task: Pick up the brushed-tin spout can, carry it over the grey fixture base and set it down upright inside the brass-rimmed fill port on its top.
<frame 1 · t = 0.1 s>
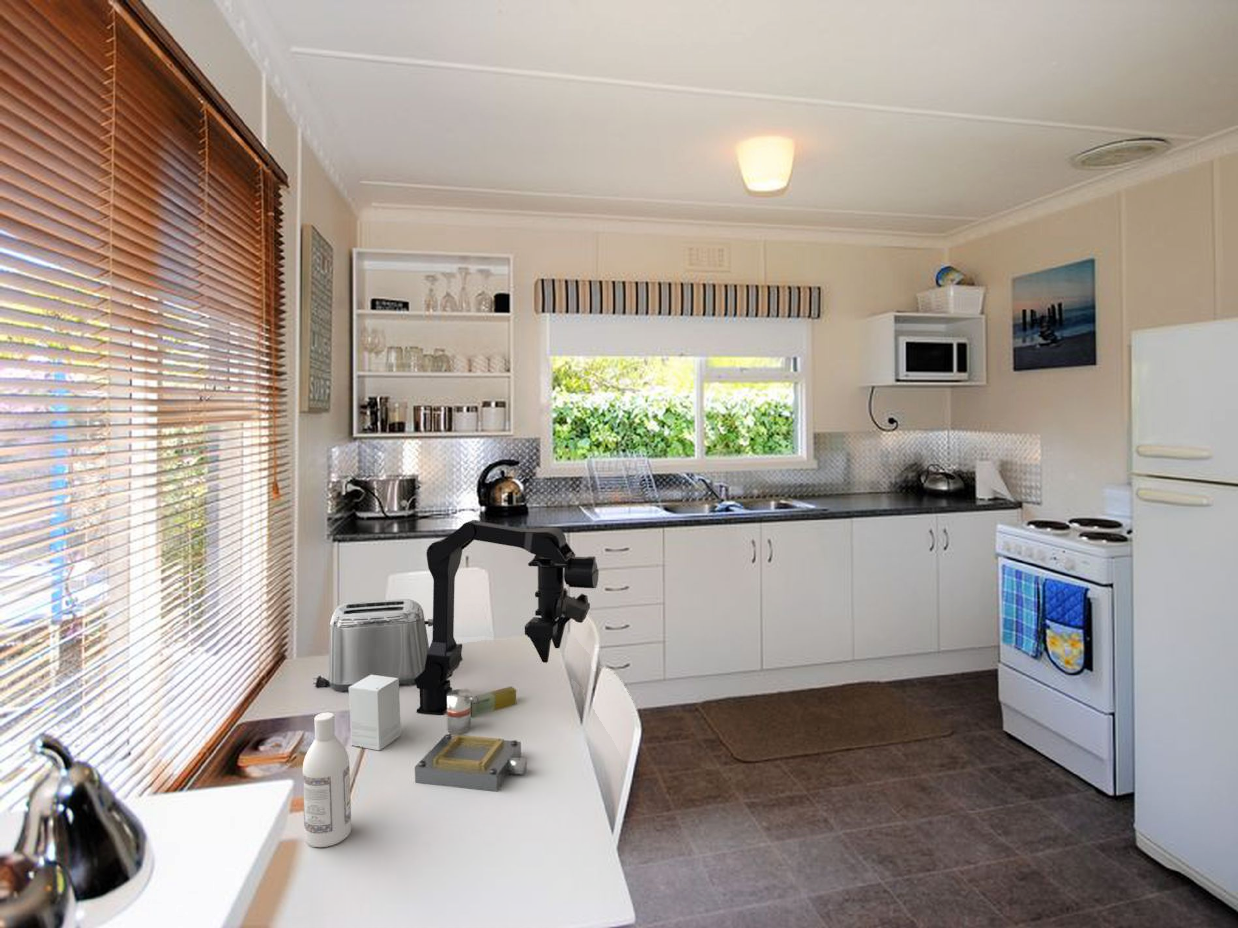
hand: (551, 654, 152), 15 cm above the table, fingers open, 9 cm apart
toaster: (376, 679, 177), on the table
spout can: (459, 729, 148), on the table
supplement box: (376, 741, 143), on the table
grey fixture base: (470, 768, 132), on the table
medication box: (491, 710, 158), on the table
bath foam: (328, 836, 111), on the table
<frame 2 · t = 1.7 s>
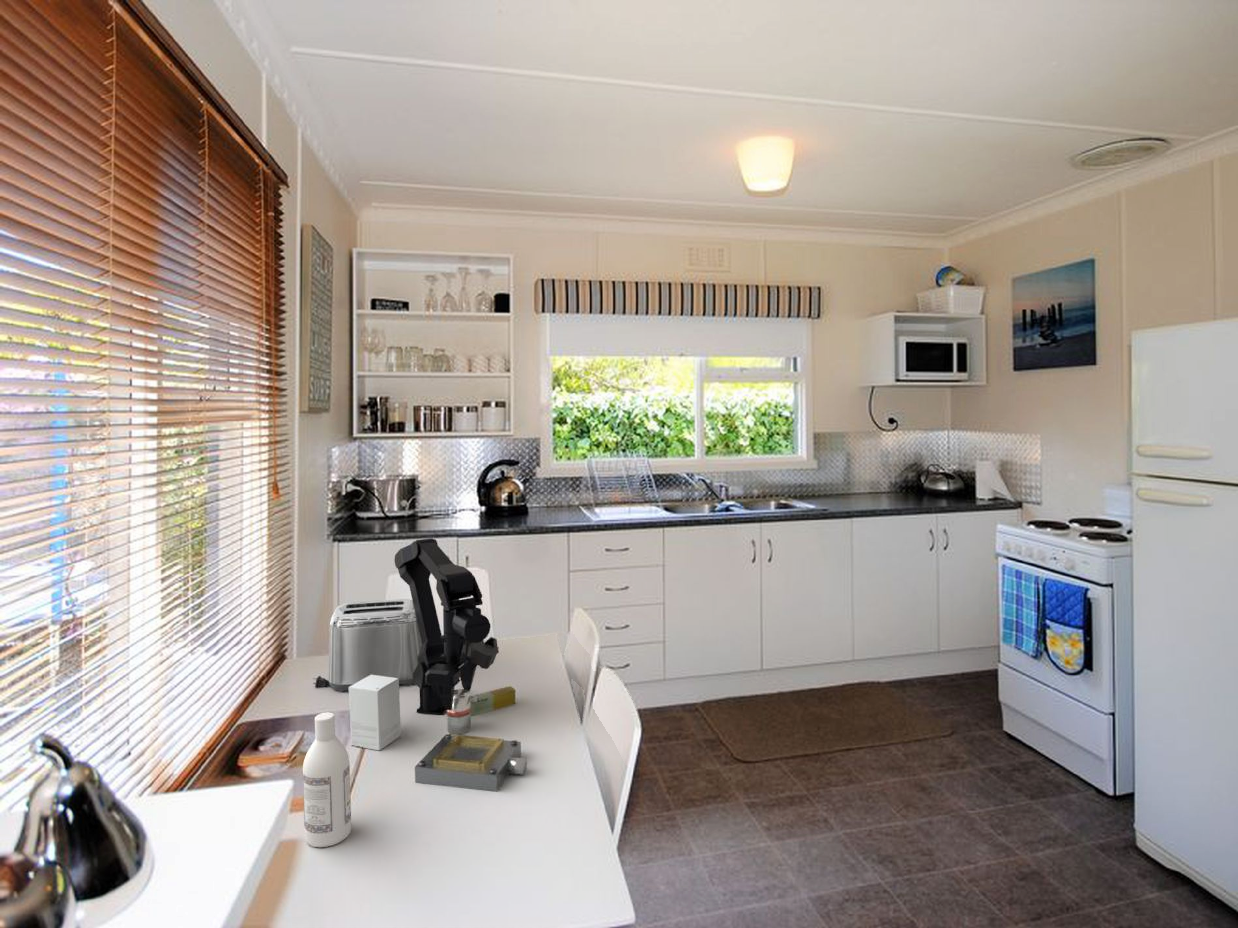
hand: (458, 700, 148), 6 cm above the table, fingers open, 9 cm apart
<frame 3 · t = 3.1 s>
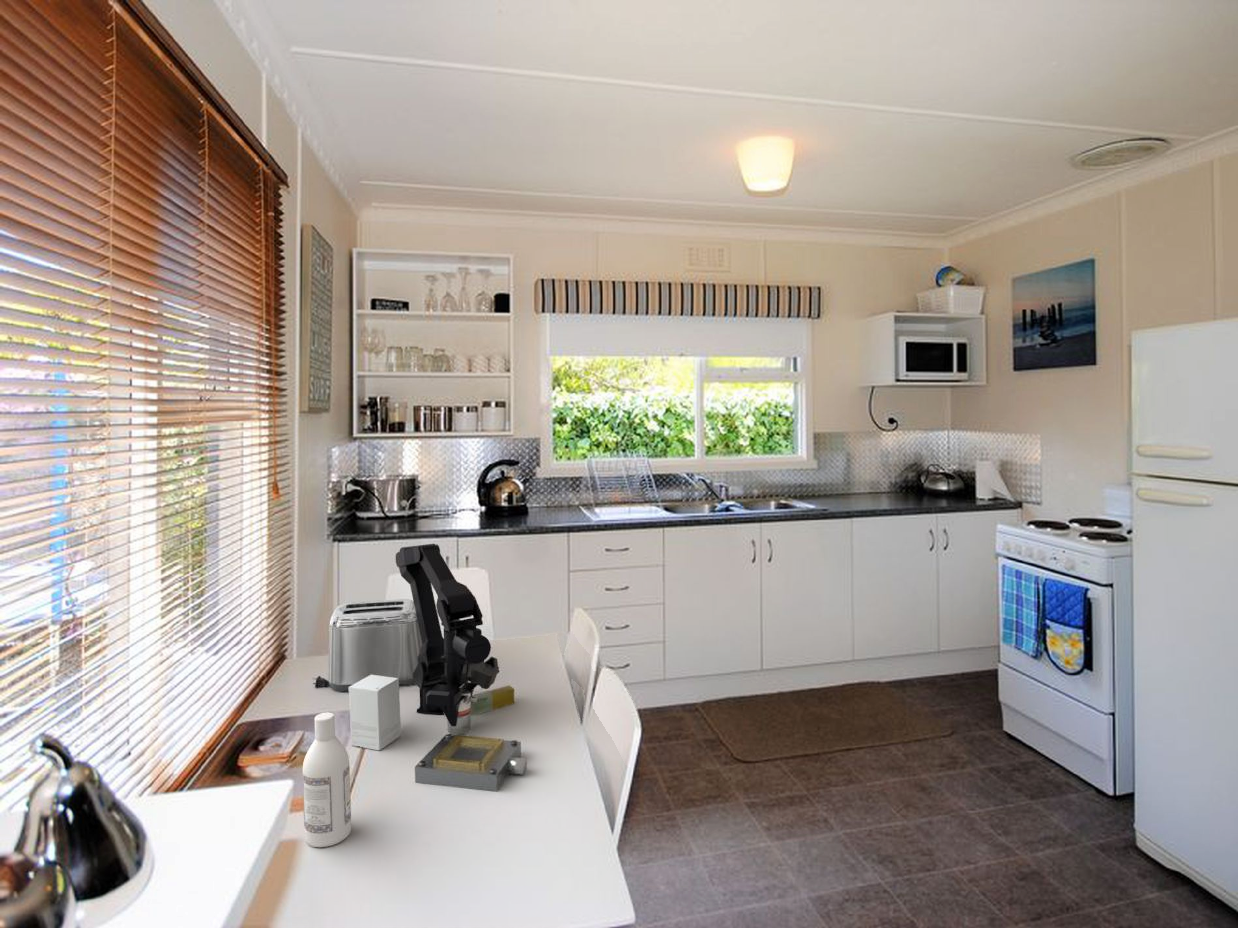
hand: (459, 720, 148), 2 cm above the table, fingers closed on spout can, 5 cm apart
spout can: (459, 729, 148), on the table, touching gripper
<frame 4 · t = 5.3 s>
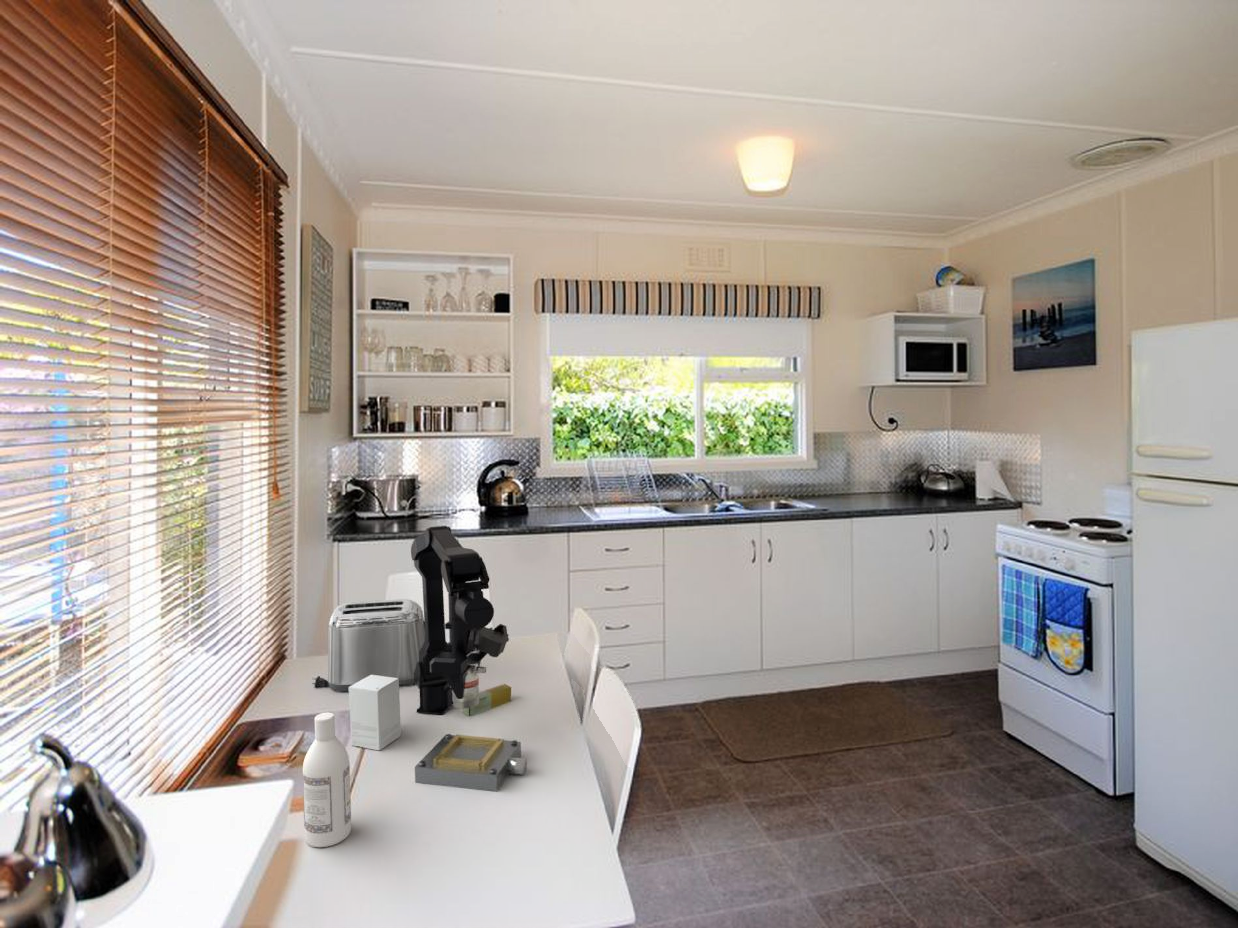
hand: (465, 693, 136), 13 cm above the table, fingers closed on spout can, 5 cm apart
spout can: (466, 703, 136), point 11 cm above the table, touching gripper
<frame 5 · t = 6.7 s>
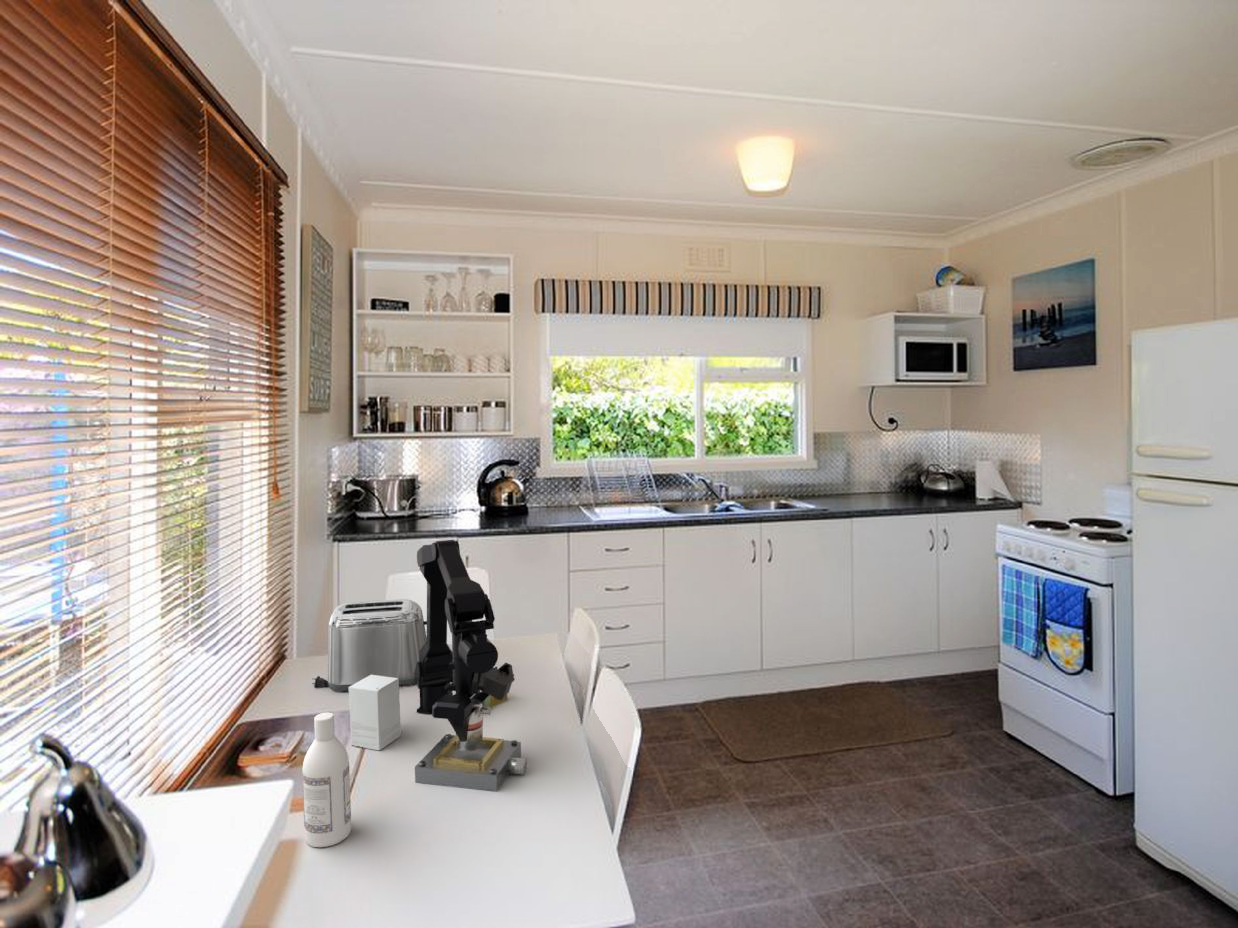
hand: (469, 734, 131), 7 cm above the table, fingers closed on spout can, 5 cm apart
spout can: (469, 744, 131), point 5 cm above the table, touching gripper
when the fingers open (6 cm above the table, at t = 7.5 s): spout can drops 1 cm, resting on grey fixture base.
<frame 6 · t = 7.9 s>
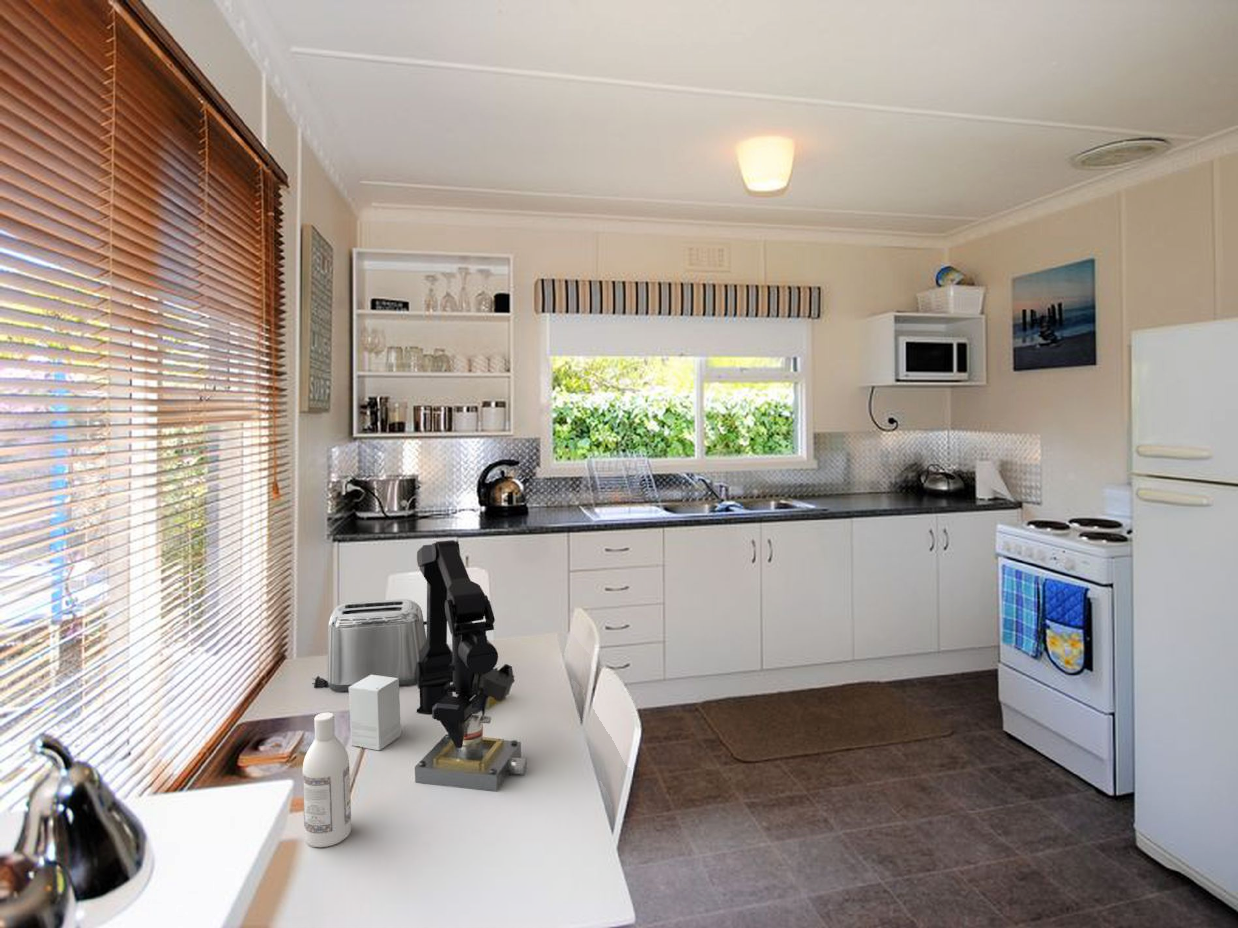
hand: (469, 736, 131), 6 cm above the table, fingers open, 9 cm apart
spout can: (469, 753, 132), point 3 cm above the table, touching grey fixture base
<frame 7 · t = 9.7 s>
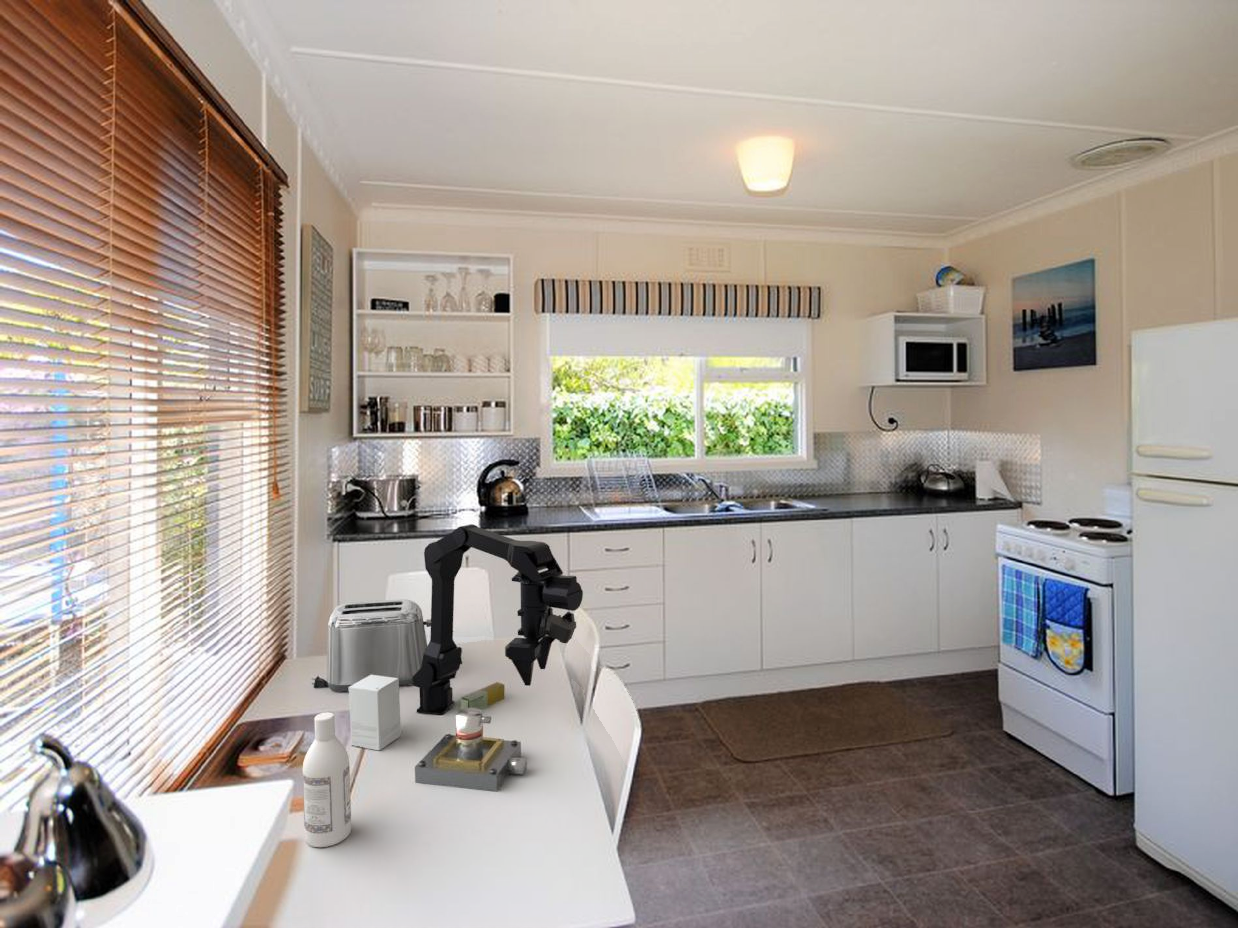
hand: (535, 676, 144), 13 cm above the table, fingers open, 9 cm apart
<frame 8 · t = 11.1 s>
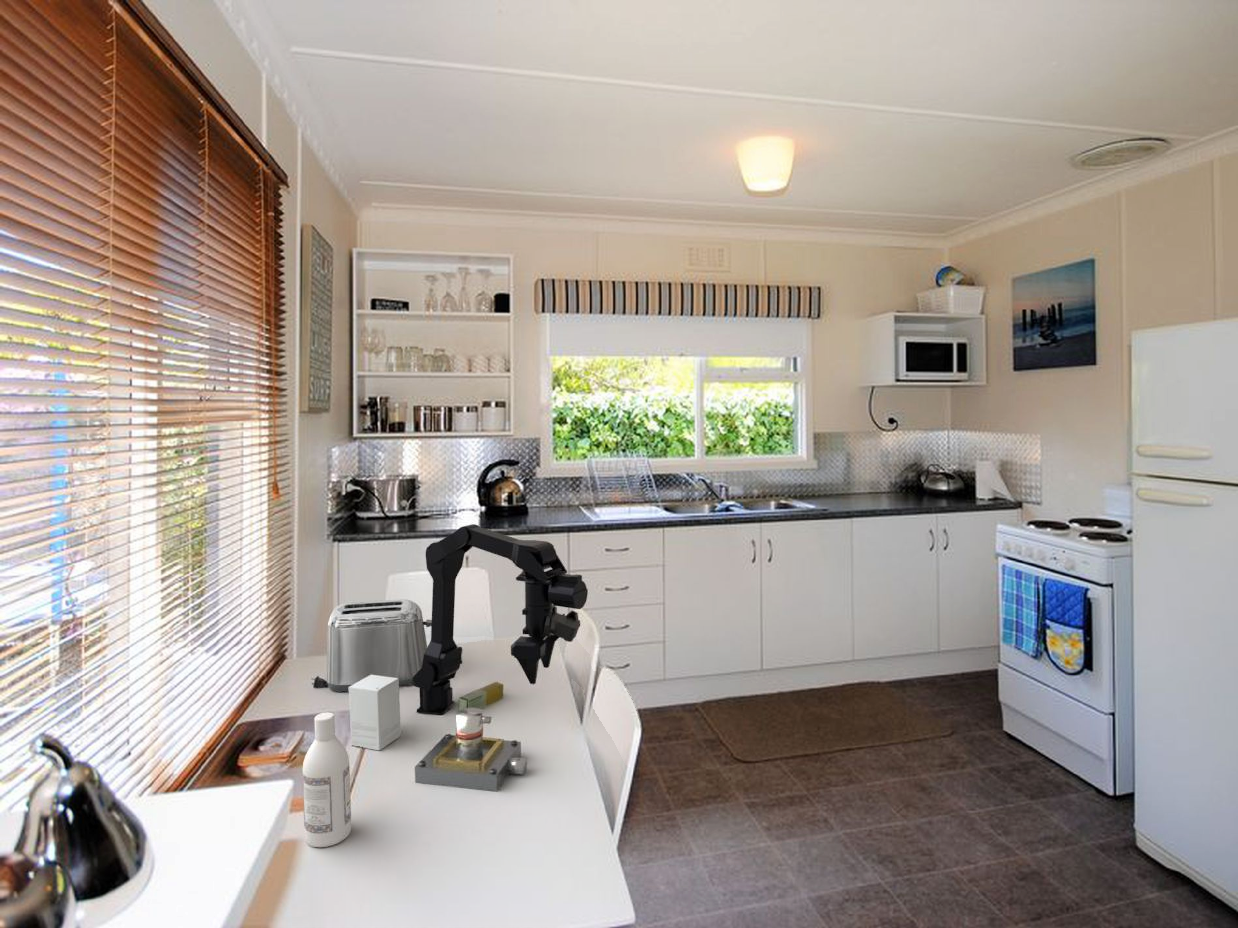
hand: (539, 675, 145), 13 cm above the table, fingers open, 9 cm apart
at the end: spout can 0.0 cm off-centre on the grey fixture base, point 3.0 cm above the grey fixture base's base; spout can tilted 0°; the gripper is holding nothing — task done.
